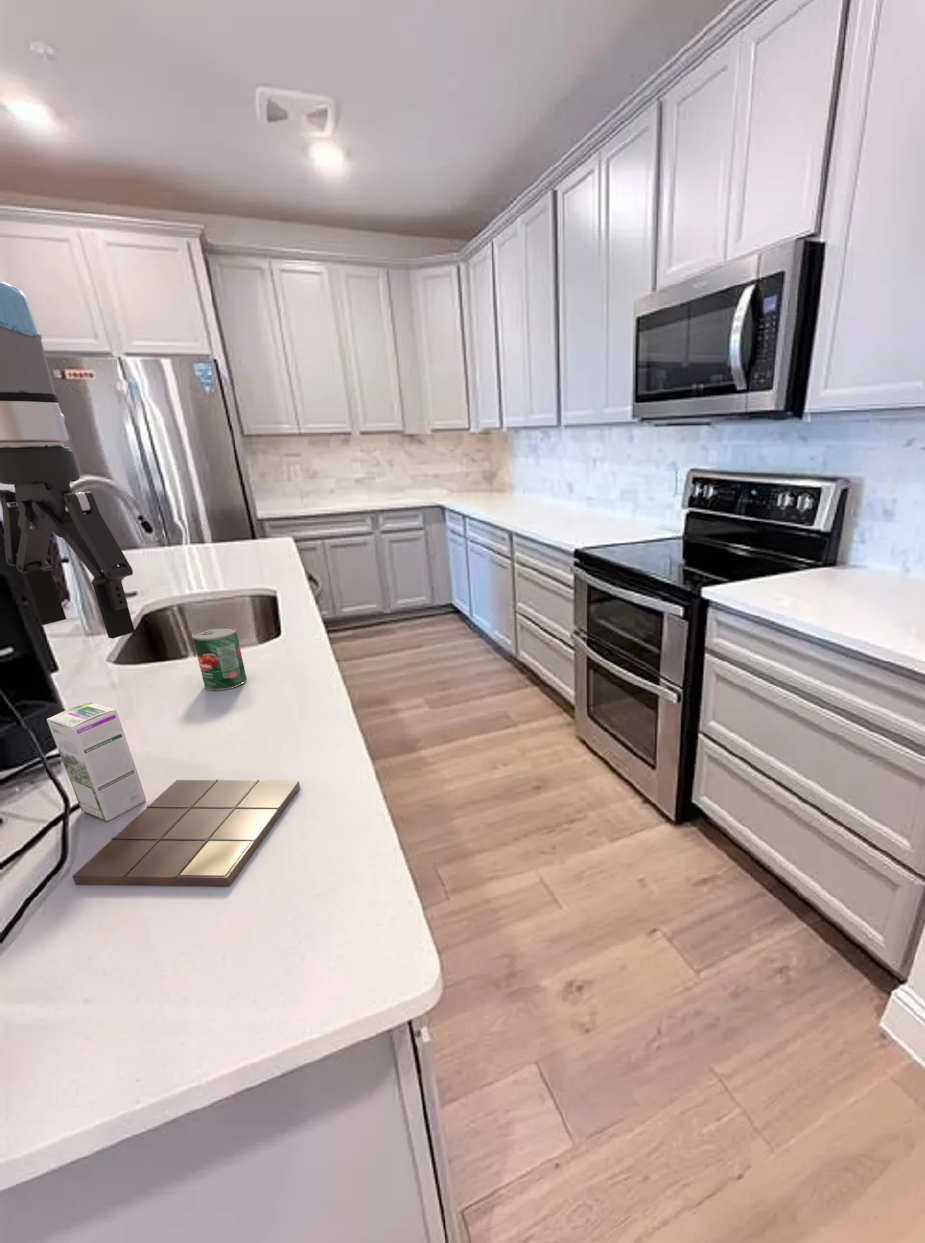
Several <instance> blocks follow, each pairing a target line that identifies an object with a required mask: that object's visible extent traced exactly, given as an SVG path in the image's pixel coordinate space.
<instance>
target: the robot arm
mask: <svg viewBox="0 0 925 1243" xmlns="http://www.w3.org/2000/svg"><path fill="white" fill-rule="evenodd" d="M42 340H43V337H42V334H41V333H40V331H39V329H38V326H37V323H36V320H35V317H34V315H33V311H32V309H31V306H30V303H29V301H28V298H27V296H26V295H25V294H24V292H23V291H21V289H19V288H17V287H16V286H14V285H12V284H9V283H6V282H5V281H0V484H1V485H12V486H14V488H5V489H0V506H1V510H2V522H3V537H4V539H3V540H4V553H5V554H4V555H5V561H6V562H5V563H6V564H7V565H8V566H9V567H16V569H17V571H18V572H19V573H22V576H23V579H24V583H25V584H26V588H27V590H28V593H29V597H30V599H31V602H32V606H33V608H34V611H35V614H36V617H37V620H38V622H39V625H42V626H46V625H49V624H53V623H57V622H62V621H64V620H67V617H66V613H65V609H64V607H63V604H62V600H61V598H60V594H59V591H58V589H57V585H56V582H55V580H54V576H53V573H52V570H51V569H49V568H51V567H52V566H51V565H50V563H49V562H48V561H47V555H48V551H49V546H50V541H51V535H52V533H53V534H54V535H55V536H57V537H59V538H62V539H63V540H64V541H65V542H66V544H67V545H68V546H69V547H70V548H71V550H72V551H73V552H74V553H75V555H76V556H77V557H78V559H79V560H80V561H81V563H82V564H83V565H84V566H85V568H86V569H87V570H88V572H89V573H90V574H91V575H92V576H93V578H92V580H91V582H90V584H91V586H92V588H93V591H94V594H95V597H96V600H97V604H98V607H99V611H100V614H101V617H102V620H103V621H102V622H103V624H104V628H105V630H106V634H107V638H108V639H116V638H119V637H123V636H127V635H130V634H132V633H135V632H136V630H135V626H134V623H133V620H132V616H131V613H130V609H129V605H128V604H129V603H128V600H127V596H126V592H125V589H124V585H123V580H124V579H125V578H127V577H129V576H133V574H134V571H133V570H134V569H133V567H132V566H131V564H130V563H129V561H128V559H127V557H126V555H125V554H124V552H123V550H122V549H121V547H120V545H119V544H118V542H117V540H116V539H115V537H114V535H113V533H112V531H111V530H110V528H109V527H108V525H107V523H106V521H105V519H104V518H103V515H102V514H101V513H100V510H99V507H98V504H97V502H96V499H95V496H94V494H93V492H91V491H79V492H78V491H77V492H74V491H73V489H72V487H71V485H70V484H71V482H77V481H79V480H80V478H81V474H80V470H79V467H78V464H77V459H76V456H75V453H74V450H73V449H71V447H69V446H65V444H64V442H68V441H69V439H70V437H69V434H68V431H67V427H66V424H65V420H66V418H65V415H64V414H63V413H62V411H61V406H60V404H59V399H58V396H57V394H56V390H55V385H54V382H53V378H52V375H51V371H50V368H49V367H50V366H49V364H48V360H47V357H46V353H45V349H44V345H43V341H42Z"/></svg>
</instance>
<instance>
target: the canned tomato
mask: <svg viewBox="0 0 925 1243" xmlns="http://www.w3.org/2000/svg"><path fill="white" fill-rule="evenodd" d="M191 637H192V641H193V645H194V650H195V653H196V657H197V661H198V665H199V668H200V672H201V676H202V680H203V684H204V685H203V686H204V688H205V689H206V690H209V691H214V690H216V691H218V690H219V691H225V690H224V689H228V690H230V689H229V688H232V687H235V686H237V685H239V684H241V683H242V682H245V681H246V680H247V681H248V678H247V674H246V670H245V665H244V660H243V655H242V652H241V645H240V641H239V636H238V633H237V628H236V627H233V626H225V625H224V626H213V627H206V628H202V629H199V630H197V631H194V632H193V633H192V634H191ZM247 681H246V682H247ZM246 682H245V683H246ZM232 689H233V688H232Z"/></svg>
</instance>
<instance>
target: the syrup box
mask: <svg viewBox="0 0 925 1243" xmlns="http://www.w3.org/2000/svg"><path fill="white" fill-rule="evenodd" d="M46 722H47V724H48V727H49V730H50V732H51V736H52V738H53V740H54V743H55V746H56V748H57V751H58V754H59V756H60V758H61V761H62V763H63V766H64V768H65V771H66V774H67V776H68V779H69V781H70V785H71V787H72V790H73V792H74V794H75V797H76V799H77V802H78V804H79V808H80V810H81V812H83V813H85V814H87V815H90V816H92V817H95V818H97V819H99V820H102V821H105V822H108V821H111V820H113V819H114V818H117V817H119V816H121V815H123V814H125V813H127V812H129V811H130V810H132V809H134V808H135V807H137V806H139V805H141V804H143V803H144V802H146V801H147V796H146V794H145V791H144V788H143V785H142V782H141V778H140V776H139V772H138V769H137V767H136V764H135V761H134V758H133V755H132V752H131V750H130V746H129V743H128V740H127V737H126V735H125V731H124V728H123V726H122V723H121V719H120V717H119V714H118V711H117V709H116V708H115V709H114V708H112V707H109V706H104V705H101V704H97V703H94V702H87V703H84V704H81V705H77V706H74V707H71V708H68V709H67V710H63V711H62V712H59V713H57V714H55V715H53V716H51V717H48V718H46Z"/></svg>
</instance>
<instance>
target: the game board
mask: <svg viewBox="0 0 925 1243" xmlns="http://www.w3.org/2000/svg"><path fill="white" fill-rule="evenodd" d="M300 789H301V785H300V781H299V780H260V779H256V780H241V779H240V780H235V779H234V780H232V779H231V780H228V779H227V780H225V779H223V780H221V779H176V780H175V781H173V783H172V784H170V785H169V786H168V787H167V788H166V789H165V790H164V791H162V792H161V794H160V795H158V796H157V798H155V799H154V800H153V801H152V802H151V803H150V804H149V805H146V807H145V808H144V810H142V811H141V812H140V813H139V814H137V816H136V817H134V819H132V820H131V821H130V822H129V823H128V824H127V825H126V826H125V827H124V828H122V830H120V832H118V833H117V834H116V835H115V836H113V837H111V839H110V840H109V841H108V842H107V843H106V844H105V845H104V846H103V847H102V848H101V849H100V850H99V851H98V852H97V853H95V855H93V856H92V857H91V858H90V859H89V860H87V862H86V863H84V865H82V866H81V867H80V868H79V869H78V870H77V871H76V872H75V873H74V874H73V875H72V876H71V877H72V880H73V882H74V884H75V885H96V886H97V885H104V886H112V885H113V886H171V887H173V886H175V887H177V886H179V887H180V886H183V887H184V886H185V887H186V886H187V887H231V885H232V883H233V882H234V881H235V879H236V878H237V877H238V875H239V874H240V873H241V871H242V870H243V868H244V867H245V865H246V864H247V863H248V861H249V860H250V858H251V857H252V855H253V854H254V853H255V851H256V850H257V849H258V848H259V846H260V844H261V843H262V842H263V840H264V839H265V837H266V836H267V834H269V832H270V830H271V829H272V828H273V826H274V825H275V824H276V822H277V821H278V819H279V818H280V816H282V814H283V812H285V810H286V808H287V807H288V805H289V804H290V802H292V800H293V798H294V797H295V796H296V794H297V793H298V792H299V790H300Z"/></svg>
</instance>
